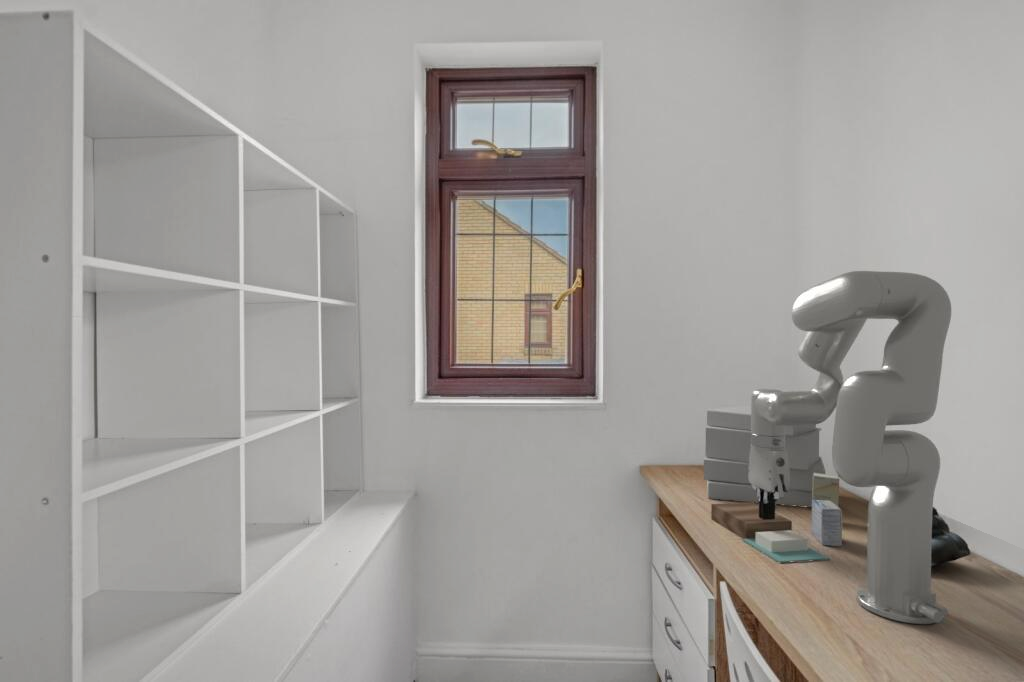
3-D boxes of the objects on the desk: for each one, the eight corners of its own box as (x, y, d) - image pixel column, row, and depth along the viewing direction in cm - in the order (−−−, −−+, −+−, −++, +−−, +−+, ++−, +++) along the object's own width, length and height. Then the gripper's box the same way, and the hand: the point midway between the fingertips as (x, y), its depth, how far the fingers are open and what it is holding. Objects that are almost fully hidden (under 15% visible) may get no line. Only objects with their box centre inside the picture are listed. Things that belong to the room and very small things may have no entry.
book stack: (838, 514, 159) (839, 420, 159) (703, 502, 170) (704, 414, 170) (816, 487, 188) (818, 408, 188) (702, 478, 198) (703, 403, 198)
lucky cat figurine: (903, 573, 119) (873, 505, 125) (887, 575, 130) (859, 512, 136) (983, 558, 116) (948, 489, 122) (960, 561, 127) (929, 498, 133)
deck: (791, 537, 140) (791, 521, 140) (746, 540, 138) (746, 523, 138) (752, 517, 156) (752, 502, 156) (711, 519, 154) (711, 504, 154)
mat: (829, 559, 126) (829, 558, 126) (779, 563, 124) (779, 561, 124) (787, 537, 140) (787, 536, 140) (742, 540, 138) (742, 538, 138)
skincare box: (811, 521, 153) (812, 475, 152) (811, 517, 156) (812, 472, 156) (838, 525, 150) (839, 478, 150) (838, 520, 154) (839, 474, 153)
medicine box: (842, 547, 134) (842, 509, 134) (821, 545, 135) (821, 508, 135) (830, 535, 142) (831, 500, 142) (811, 534, 143) (811, 499, 143)
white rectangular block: (790, 530, 137) (790, 540, 137) (755, 532, 135) (755, 542, 135) (807, 539, 131) (807, 550, 131) (771, 541, 129) (771, 552, 129)
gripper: (803, 447, 132) (801, 528, 132) (763, 435, 146) (762, 508, 146) (773, 447, 130) (771, 529, 130) (735, 436, 145) (734, 510, 145)
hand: (766, 518), depth 138 cm, fingers closed
